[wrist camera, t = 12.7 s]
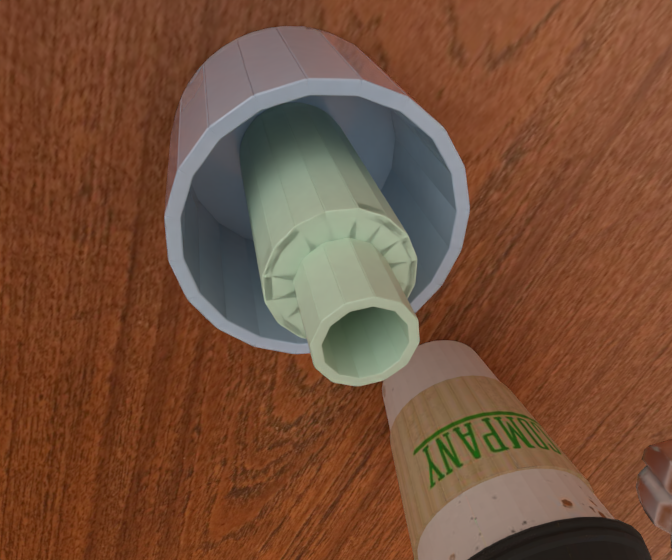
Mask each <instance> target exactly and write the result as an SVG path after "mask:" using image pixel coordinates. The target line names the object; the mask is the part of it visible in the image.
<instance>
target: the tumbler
mask: <svg viewBox="0 0 672 560" xmlns="http://www.w3.org/2000/svg"><path fill="white" fill-rule="evenodd" d="M291 102H299V103H306V104H310V105H313V106H315V107H318V108H320V109H321V110H323V111H325V112H326V113H327V114H329V115H330V116H331V117H332V118H333V119H334V120H335V121H336V123H337V124H338V125H339V126H340V127H341V129H342V130H343V132H344V133H345V135H346V137H347V138H348V140H349V141H350V143H351V145H352V146H353V148H354V149H355V151H356V153H357V154H358V156H359V157H360V159H361V161H362V162H363V164H364V165H365V167H366V169H367V170H368V172H369V173H370V175H371V177H372V178H373V180H374V181H375V183H376V184H377V186H378V188H379V189H380V191H381V192H382V194H383V196H384V197H385V199H386V200H387V202H388V204H389V205H390V207H391V208H392V210H393V212H394V213H395V215H396V216H397V218H398V220H399V221H400V223H401V224H402V226H403V227H404V229H405V231H406V232H407V234H408V236H409V238H410V241H411V243H412V246H413V248H414V251H415V253H416V256H417V270H416V282H415V286H414V288H413V289H412V291H411V293H410V295H409V297H408V299H407V300H408V301H409V303H410V305H411V307H412V309H413V311H414V313H416V312H417V311H418V310H419V309H420V308H421V307H422V306H423V305H424V304H425V303H426V302H427V301H428V300H429V299H430V298H431V297H432V295H433V294H434V293H435V292H436V291H437V290H438V289H439V288H440V287H441V286H442V284H443V283H444V281H445V279H446V277H447V275H448V274H449V272H450V270H451V268H452V266H453V265H454V263H455V261H456V259H457V257H458V255H459V254H460V252H461V249H462V246H463V241H464V236H465V232H466V227H467V222H468V217H469V213H470V203H469V195H468V186H467V178H466V170H465V166H464V164H463V162H462V160H461V158H460V156H459V154H458V152H457V150H456V148H455V146H454V145H453V143H452V141H451V139H450V137H449V135H448V133H447V131H446V129H445V128H444V127H443V126H442V125H441V124H440V123H439V122H438V121H437V120H436V119H435V118H434V117H433V116H432V115H431V114H429V113H428V112H427V111H426V110H425V109H424V108H423V107H422V106H421V105H420V104H419V103H418V102H417V101H416V100H415V99H414V98H412V97H411V96H410V95H409V94H408V93H407V92H406V91H405V90H404V89H403V88H402V87H401V86H400V85H399V84H398V83H397V82H396V81H394V80H393V79H392V78H391V77H390V76H389V75H388V74H387V73H386V72H385V71H384V70H383V69H382V68H381V67H379V66H378V65H377V64H376V63H375V62H374V61H373V60H372V59H370V58H369V57H368V56H367V55H366V54H365V53H364V52H362V51H361V50H360V49H359V48H358V47H357V46H356V45H354V44H352V43H350V42H348V41H346V40H344V39H342V38H340V37H338V36H336V35H334V34H331V33H328V32H325V31H322V30H319V29H314V28H308V27H302V26H281V27H272V28H266V29H262V30H258V31H255V32H251V33H249V34H246V35H244V36H242V37H239V38H237V39H235V40H233V41H232V42H230V43H228V44H227V45H225V46H223V47H222V48H220V49H219V50H218V51H217V52H215V53H214V54H213V55H212V56H210V57H209V58H208V59H207V60H206V61H205V63H204V64H203V65H202V66H201V67H200V68H199V69H198V70H197V71H196V73H195V74H194V76H193V77H192V79H191V80H190V81H189V83H188V85H187V87H186V89H185V90H184V92H183V94H182V96H181V99H180V102H179V105H178V107H177V110H176V114H175V119H174V124H173V128H172V132H171V139H170V152H169V164H168V177H167V189H166V202H165V214H164V221H165V232H166V243H167V254H168V260H169V264H170V266H171V268H172V270H173V272H174V274H175V276H176V278H177V280H178V282H179V284H180V286H181V288H182V290H183V292H184V294H185V296H186V298H187V299H188V301H189V302H190V303H191V304H192V305H193V306H194V307H195V308H197V309H198V310H199V311H200V312H201V313H202V314H203V315H204V316H205V317H206V318H207V319H208V320H209V321H210V322H211V323H212V324H213V325H214V326H215V327H216V328H218V329H219V330H221V331H223V332H225V333H227V334H229V335H231V336H233V337H235V338H237V339H239V340H241V341H243V342H245V343H247V344H249V345H251V346H255V347H258V348H263V349H269V350H274V351H280V352H285V353H291V354H305V353H310V349H309V345H308V341H307V339H305V338H301V337H298V336H297V335H295V334H294V333H292V332H291V331H289V330H287V329H286V328H284V327H283V326H281V325H280V324H278V323H277V321H276V320H275V318H274V316H273V315H272V313H271V312H270V310H269V308H268V307H267V305H266V304H265V301H264V297H263V292H262V286H261V281H260V275H259V269H258V264H257V258H256V252H255V247H254V241H253V236H252V230H251V224H250V219H249V213H248V208H247V202H246V196H245V191H244V185H243V179H242V174H241V164H240V146H241V142H242V139H243V136H244V134H245V132H246V130H247V129H248V127H249V126H250V124H251V123H252V122H253V121H254V120H255V119H256V118H257V117H258V116H259V115H260V114H261V113H263V112H264V111H266V110H268V109H269V108H272V107H274V106H277V105H280V104H284V103H291Z"/></svg>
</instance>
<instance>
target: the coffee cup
mask: <svg viewBox="0 0 672 560" xmlns="http://www.w3.org/2000/svg"><path fill="white" fill-rule="evenodd" d="M382 393H383V399H384V404H385V408H386V413H387V418H388V422H389V427H390V431H391V434H390V443H391V449H392V454H393V459H394V464H395V468H396V473H397V478H398V483H399V488H400V493H401V497H402V502H403V507H404V512H405V517H406V522H407V526H408V531H409V536H410V541H411V546H412V551H413V555H414V560H652V559H651V556H650V553H649V551H648V549H647V547H646V545H645V542H644V540H643V538H642V536H641V534H640V533H639V532H638V531H637V530H636V529H634V528H633V527H632V526H631V525H629V524H626V523H624V522H622V521H619V520H616V519H615V518H614V517H613V516H612V515H611V514H610V513H609V511H608V510H607V509H606V508H605V507H604V505H603V504H602V503H601V502H600V501H599V499H598V498H597V497H596V496H595V495H594V491H593V489H592V487H591V485H590V483H589V482H588V481H587V479H586V478H585V477H584V476H583V475H582V474H581V472H580V471H579V470H578V469H577V468H576V467H575V465H574V464H573V463H572V462H571V461H570V460H569V458H568V457H567V456H566V455H565V454H564V452H563V451H562V450H561V449H560V448H559V447H558V445H557V444H556V443H555V442H554V441H553V440H552V438H551V437H550V436H549V435H548V434H547V432H546V431H545V430H544V429H543V428H542V427H541V425H540V424H539V423H538V422H537V421H536V420H535V418H534V417H533V416H532V415H531V414H530V413H529V411H528V410H527V409H526V408H525V407H524V405H523V404H522V403H521V402H520V401H519V400H518V398H517V397H516V396H515V395H514V394H513V393H512V391H511V390H510V389H509V388H508V387H507V386H506V385H505V384H503V383H501V382H500V381H499V380H498V379H497V377H496V376H495V375H494V374H493V373H492V371H491V370H490V369H489V368H488V367H487V365H486V364H485V363H484V362H483V361H482V359H481V358H480V357H479V356H478V355H477V353H476V352H475V351H474V350H473V349H472V348H471V347H469V346H467V345H465V344H464V343H460V342H457V341H451V340H439V341H432V342H428V343H424V344H422V345H419V346H417V348H416V350H415V352H414V353H413V355H412V357H411V359H410V360H409V362H408V364H407V365H406V366H404V367H403V368H401V369H400V370H399V371H397V372H396V373H394V374H393V375H392V376H390V377H389V378H387V379H386V380H384V381H383V386H382Z"/></svg>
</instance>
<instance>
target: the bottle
mask: <svg viewBox="0 0 672 560" xmlns="http://www.w3.org/2000/svg"><path fill="white" fill-rule="evenodd" d="M240 164H241V174H242V179H243V185H244V191H245V196H246V202H247V208H248V213H249V219H250V224H251V230H252V236H253V241H254V247H255V252H256V258H257V264H258V269H259V275H260V281H261V286H262V292H263V297H264V301H265V304H266V305H267V307H268V308H269V310H270V312H271V313H272V315H273V316H274V318H275V320H276V321H277V323H278V324H280V325H281V326H283V327H284V328H286V329H287V330H289V331H291V332H292V333H294V334H295V335H297V336H298V337H301V338H305V339H307V341H308V345H309V349H310V353H311V357H312V361H313V365H314V367H315V368H316V369H317V370H318V371H319V372H321V373H322V374H323V375H324V376H325V377H327V378H328V379H329V380H330V381H331V382H333V383H339V384H345V385H351V386H363V385H367V384H371V383H375V382H379V381H383V380H386V379H387V378H389V377H390V376H392V375H393V374H394V373H396V372H397V371H399V370H400V369H401V368H403V367H404V366H406V365H407V364H408V362H409V360H410V359H411V357H412V355H413V353H414V352H415V350H416V348H417V346H418V344H419V342H420V338H419V323H418V319H417V317H416V315H415V313H414V311H413V309H412V307H411V305H410V303H409V301H408V300H407V299H408V297H409V295H410V293H411V291H412V289H413V288H414V286H415V282H416V270H417V256H416V253H415V251H414V248H413V246H412V243H411V241H410V238H409V236H408V234H407V232H406V231H405V229H404V227H403V226H402V224H401V223H400V221H399V220H398V218H397V216H396V215H395V213H394V212H393V210H392V208H391V207H390V205H389V204H388V202H387V200H386V199H385V197H384V196H383V194H382V192H381V191H380V189H379V188H378V186H377V184H376V183H375V181H374V180H373V178H372V177H371V175H370V173H369V172H368V170H367V169H366V167H365V165H364V164H363V162H362V161H361V159H360V157H359V156H358V154H357V153H356V151H355V149H354V148H353V146H352V145H351V143H350V141H349V140H348V138H347V137H346V135H345V133H344V132H343V130H342V129H341V127H340V126H339V125H338V124H337V123H336V121H335V120H334V119H333V118H332V117H331V116H330V115H329V114H327V113H326V112H325V111H323V110H321V109H320V108H318V107H315V106H313V105H310V104H306V103H299V102H291V103H284V104H280V105H277V106H274V107H272V108H269V109H268V110H266V111H264V112H263V113H261V114H260V115H259V116H258V117H257V118H256V119H255V120H254V121H253V122H252V123H251V124H250V126H249V127H248V129H247V130H246V132H245V134H244V136H243V139H242V142H241V146H240Z"/></svg>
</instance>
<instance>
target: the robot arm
mask: <svg viewBox="0 0 672 560" xmlns="http://www.w3.org/2000/svg"><path fill="white" fill-rule="evenodd" d="M642 460H643V461H644V462H645V464H646V467H645V468H644V469H643V470H642V471H641V472H640V473H639V474H638V477H637V483H636V489H637V493H638V497H639V501H640V503H641V505H642V507H643V509H644V511H645V513H646V514H647V516H648V517H649V518H650V520H651V521H652V523H653V524H654V525H655V526H657V527H659V528H660V529H662V530H664V531H666V532H668V533H670V534H671V548H672V439H670V440H666V441H663V442H660V443H656V444H653V445H650V446H648V447H647V448H646V449H644V452H643V456H642Z"/></svg>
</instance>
